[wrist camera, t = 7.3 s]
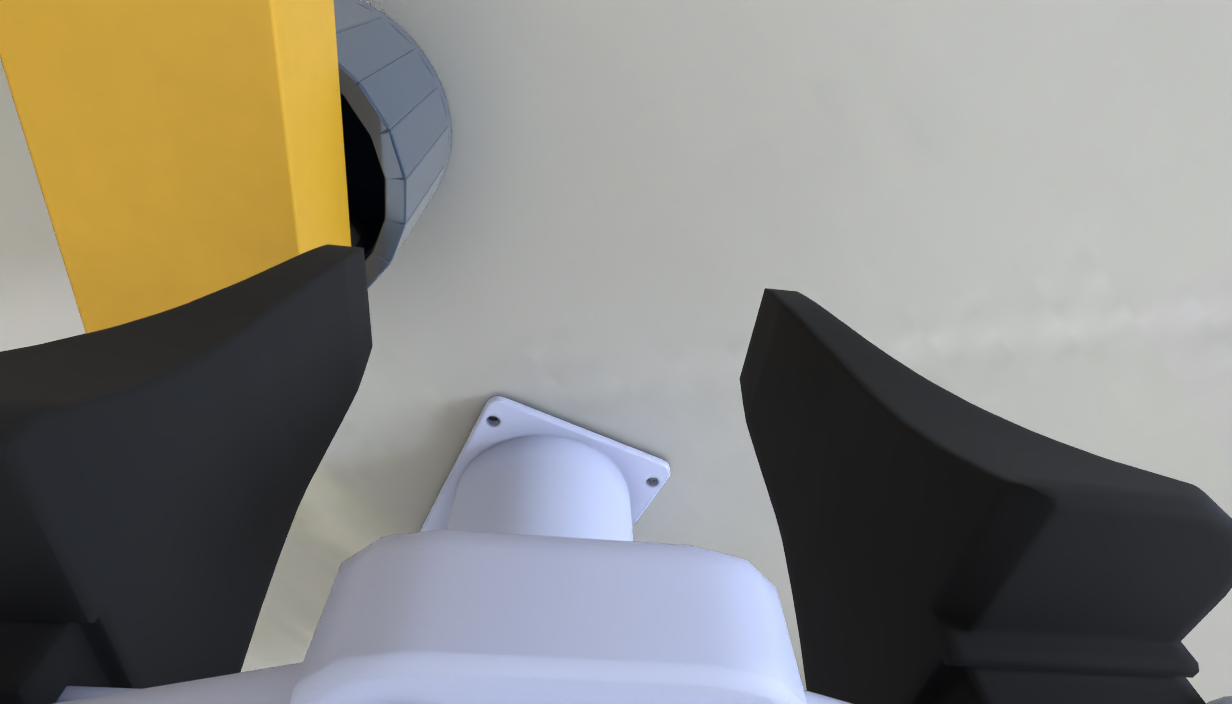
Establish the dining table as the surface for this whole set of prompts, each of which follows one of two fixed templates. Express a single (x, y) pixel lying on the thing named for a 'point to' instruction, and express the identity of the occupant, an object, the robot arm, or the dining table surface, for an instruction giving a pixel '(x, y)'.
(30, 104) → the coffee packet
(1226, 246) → the dining table surface
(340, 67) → the espresso cup
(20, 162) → the dining table surface
